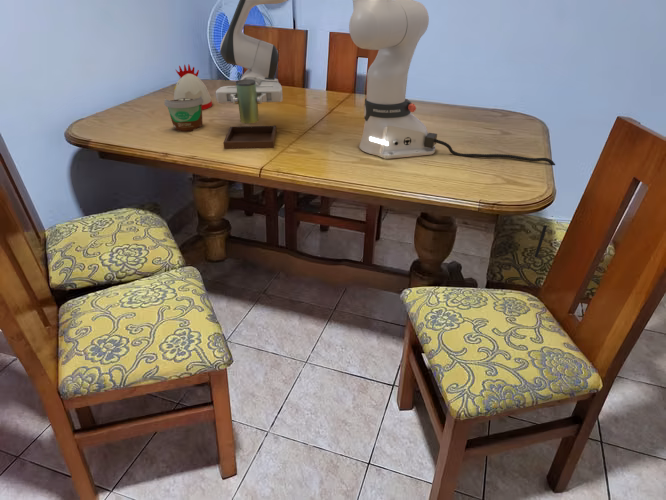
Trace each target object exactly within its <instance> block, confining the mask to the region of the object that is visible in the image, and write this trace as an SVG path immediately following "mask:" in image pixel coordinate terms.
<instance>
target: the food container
mask: <svg viewBox="0 0 666 500" xmlns="http://www.w3.org/2000/svg"><path fill="white" fill-rule="evenodd" d="M203 102H204V101H203V98H202V97H201V96H200V97H199V98H196V99H189V98H182V99H177V100H174V99H167V98H166V97H164V107H167V110H168V113H169V116H170V120H171V123H172V125H173V126H172V127H173V129H174V130H175V131H177V132H184V133H185V132H186V133H187V132H193V131H194V130H197V129H199V128H201V127H202V126H204V122H203V110H202V103H203Z"/></svg>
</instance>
